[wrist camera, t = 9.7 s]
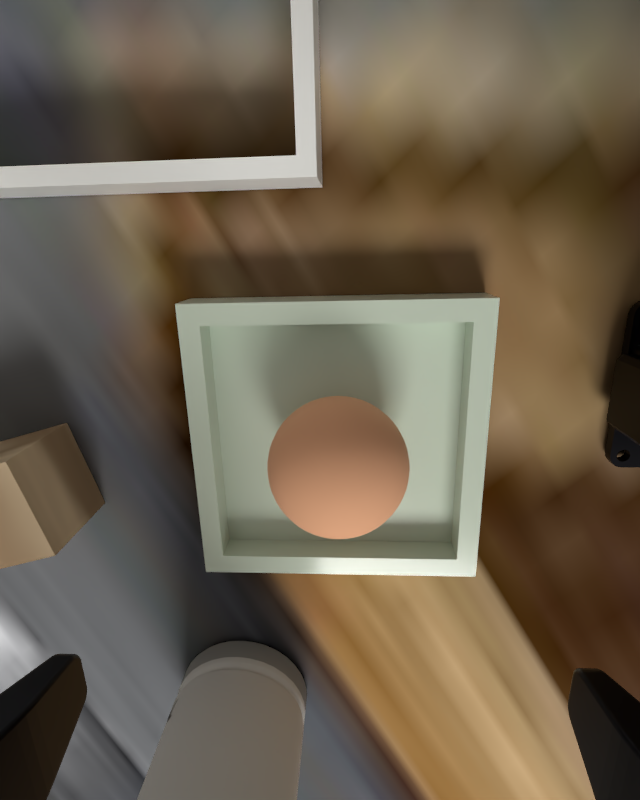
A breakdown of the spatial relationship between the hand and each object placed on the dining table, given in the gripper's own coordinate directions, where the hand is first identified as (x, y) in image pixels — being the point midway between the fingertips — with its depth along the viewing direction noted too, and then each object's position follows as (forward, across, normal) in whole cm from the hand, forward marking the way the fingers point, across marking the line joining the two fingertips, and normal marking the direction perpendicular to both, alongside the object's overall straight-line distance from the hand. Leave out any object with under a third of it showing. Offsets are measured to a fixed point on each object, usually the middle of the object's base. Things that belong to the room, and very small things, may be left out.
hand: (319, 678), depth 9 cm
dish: (+12, 0, 0) cm, 12 cm away
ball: (+11, 0, 0) cm, 11 cm away
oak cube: (+12, +13, +2) cm, 18 cm away
